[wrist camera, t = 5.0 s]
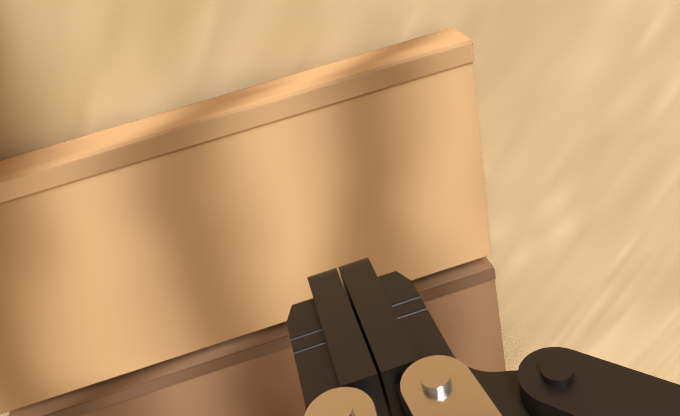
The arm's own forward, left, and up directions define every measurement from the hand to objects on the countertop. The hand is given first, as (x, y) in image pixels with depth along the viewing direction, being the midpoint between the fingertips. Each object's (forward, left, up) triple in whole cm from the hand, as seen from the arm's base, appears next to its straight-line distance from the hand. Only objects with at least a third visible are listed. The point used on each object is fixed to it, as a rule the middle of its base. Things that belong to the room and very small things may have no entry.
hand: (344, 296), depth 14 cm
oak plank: (+3, +2, -9) cm, 10 cm away
